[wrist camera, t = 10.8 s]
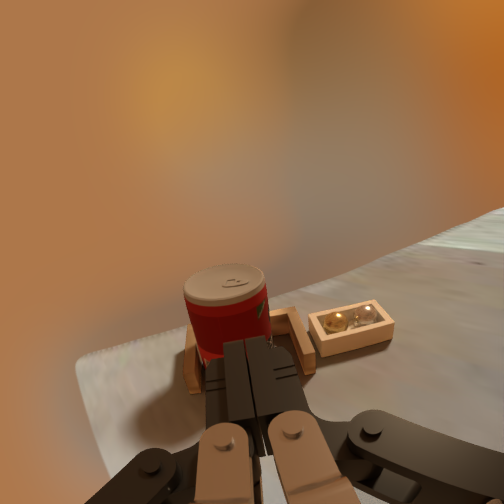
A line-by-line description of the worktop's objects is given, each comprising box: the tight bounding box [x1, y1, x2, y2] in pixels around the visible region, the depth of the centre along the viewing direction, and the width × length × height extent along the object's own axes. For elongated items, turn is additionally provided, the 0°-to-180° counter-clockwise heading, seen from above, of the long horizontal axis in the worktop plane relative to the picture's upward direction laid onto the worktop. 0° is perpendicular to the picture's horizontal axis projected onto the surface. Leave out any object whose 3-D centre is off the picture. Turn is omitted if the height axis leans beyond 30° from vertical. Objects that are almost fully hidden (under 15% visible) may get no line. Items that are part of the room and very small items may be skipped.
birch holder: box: [183, 306, 316, 394], centre depth 35 cm, size 13×9×3 cm
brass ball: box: [323, 312, 348, 335], centre depth 35 cm, size 3×3×3 cm
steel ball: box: [353, 305, 377, 328], centre depth 35 cm, size 3×3×3 cm
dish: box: [308, 299, 395, 357], centre depth 36 cm, size 9×6×2 cm, turn 97°
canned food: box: [183, 264, 274, 370], centre depth 32 cm, size 8×8×11 cm
